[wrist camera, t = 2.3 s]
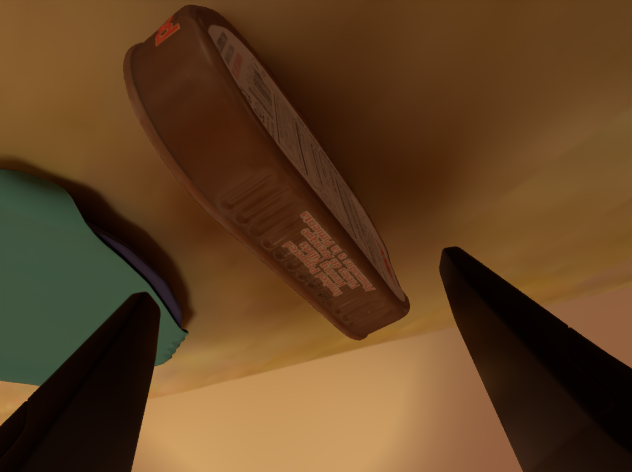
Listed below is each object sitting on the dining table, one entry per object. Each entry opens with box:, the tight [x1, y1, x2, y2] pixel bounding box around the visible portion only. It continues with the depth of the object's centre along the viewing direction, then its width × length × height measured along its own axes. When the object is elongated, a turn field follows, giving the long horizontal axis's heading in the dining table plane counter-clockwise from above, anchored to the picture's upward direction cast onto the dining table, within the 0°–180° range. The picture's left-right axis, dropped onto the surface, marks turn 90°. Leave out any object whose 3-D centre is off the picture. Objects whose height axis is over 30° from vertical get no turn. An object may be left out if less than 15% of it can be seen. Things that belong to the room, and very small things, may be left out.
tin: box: [123, 5, 410, 340], centre depth 14 cm, size 15×3×8 cm, turn 32°
